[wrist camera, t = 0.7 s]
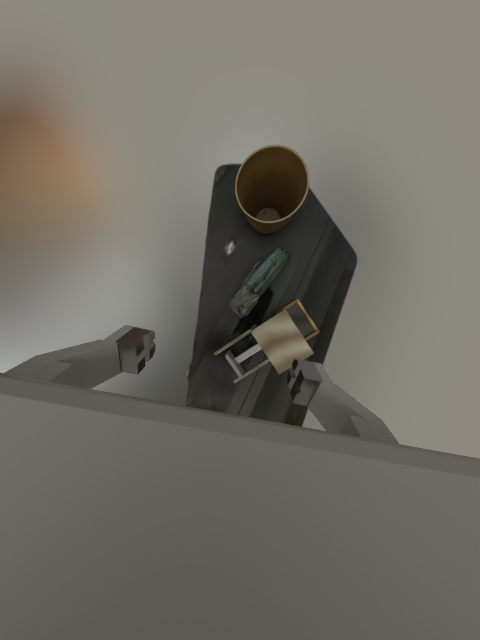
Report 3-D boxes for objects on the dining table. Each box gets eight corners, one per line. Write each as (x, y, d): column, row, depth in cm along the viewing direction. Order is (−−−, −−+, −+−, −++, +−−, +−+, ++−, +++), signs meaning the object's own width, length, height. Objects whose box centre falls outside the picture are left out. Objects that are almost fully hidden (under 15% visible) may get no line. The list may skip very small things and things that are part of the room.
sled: (296, 338, 52) (300, 342, 47) (241, 372, 55) (240, 379, 50) (280, 315, 52) (283, 317, 47) (227, 350, 55) (224, 355, 50)
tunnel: (319, 332, 52) (335, 340, 41) (235, 383, 56) (230, 403, 45) (295, 297, 52) (306, 295, 41) (213, 351, 56) (203, 362, 45)
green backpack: (246, 316, 54) (241, 323, 34) (230, 303, 54) (216, 302, 34) (288, 264, 51) (308, 240, 31) (271, 251, 51) (281, 218, 31)
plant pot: (283, 186, 49) (296, 130, 33) (298, 237, 50) (318, 206, 34) (235, 206, 51) (225, 162, 35) (250, 254, 52) (247, 233, 36)
